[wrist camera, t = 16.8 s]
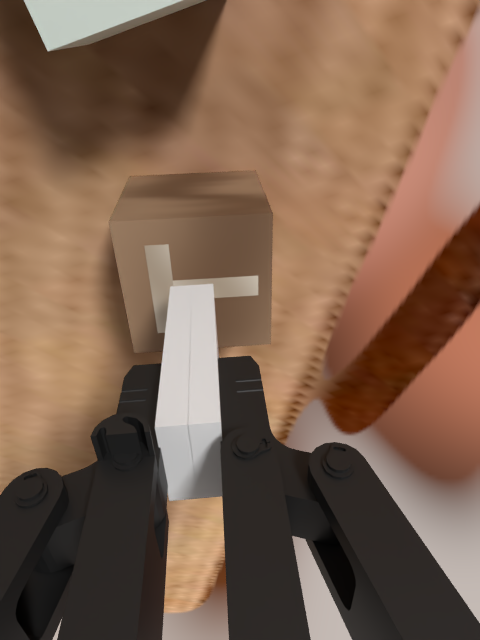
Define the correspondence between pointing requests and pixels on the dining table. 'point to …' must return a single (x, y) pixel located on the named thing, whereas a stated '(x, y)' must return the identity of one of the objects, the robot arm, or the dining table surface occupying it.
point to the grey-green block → (95, 18)
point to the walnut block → (195, 252)
